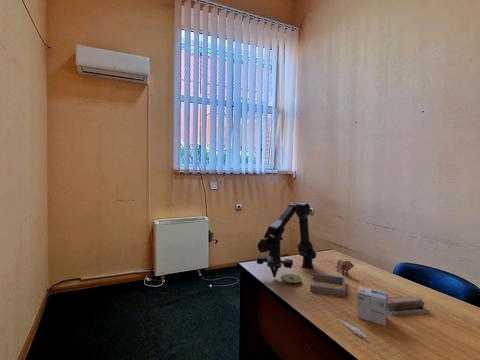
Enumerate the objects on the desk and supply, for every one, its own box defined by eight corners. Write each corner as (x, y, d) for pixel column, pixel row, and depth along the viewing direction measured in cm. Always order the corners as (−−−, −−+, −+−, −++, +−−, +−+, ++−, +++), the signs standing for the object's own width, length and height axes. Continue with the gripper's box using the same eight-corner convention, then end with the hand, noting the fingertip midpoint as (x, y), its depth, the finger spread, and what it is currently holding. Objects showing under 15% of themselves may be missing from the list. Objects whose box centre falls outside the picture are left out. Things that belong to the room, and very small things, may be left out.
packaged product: (391, 305, 110) (376, 294, 120) (391, 317, 110) (376, 304, 120) (431, 302, 112) (413, 292, 122) (430, 314, 113) (412, 302, 122)
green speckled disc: (276, 282, 141) (276, 279, 141) (285, 275, 150) (285, 272, 150) (297, 288, 135) (297, 284, 135) (305, 280, 144) (305, 276, 144)
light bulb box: (387, 318, 109) (388, 292, 108) (385, 326, 103) (386, 299, 102) (359, 310, 115) (359, 285, 114) (355, 317, 109) (356, 291, 108)
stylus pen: (369, 340, 95) (369, 335, 95) (364, 342, 94) (364, 336, 94) (339, 319, 109) (339, 315, 109) (334, 321, 108) (334, 316, 108)
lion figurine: (354, 277, 148) (355, 261, 148) (346, 278, 147) (346, 262, 147) (339, 267, 163) (339, 253, 162) (331, 268, 161) (331, 253, 161)
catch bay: (312, 278, 146) (312, 273, 146) (344, 283, 141) (344, 277, 141) (310, 291, 131) (310, 285, 131) (345, 296, 126) (345, 290, 126)
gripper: (253, 251, 140) (253, 280, 141) (289, 255, 134) (289, 286, 135) (259, 245, 151) (259, 272, 152) (293, 249, 144) (292, 277, 145)
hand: (274, 277), depth 146 cm, fingers closed
